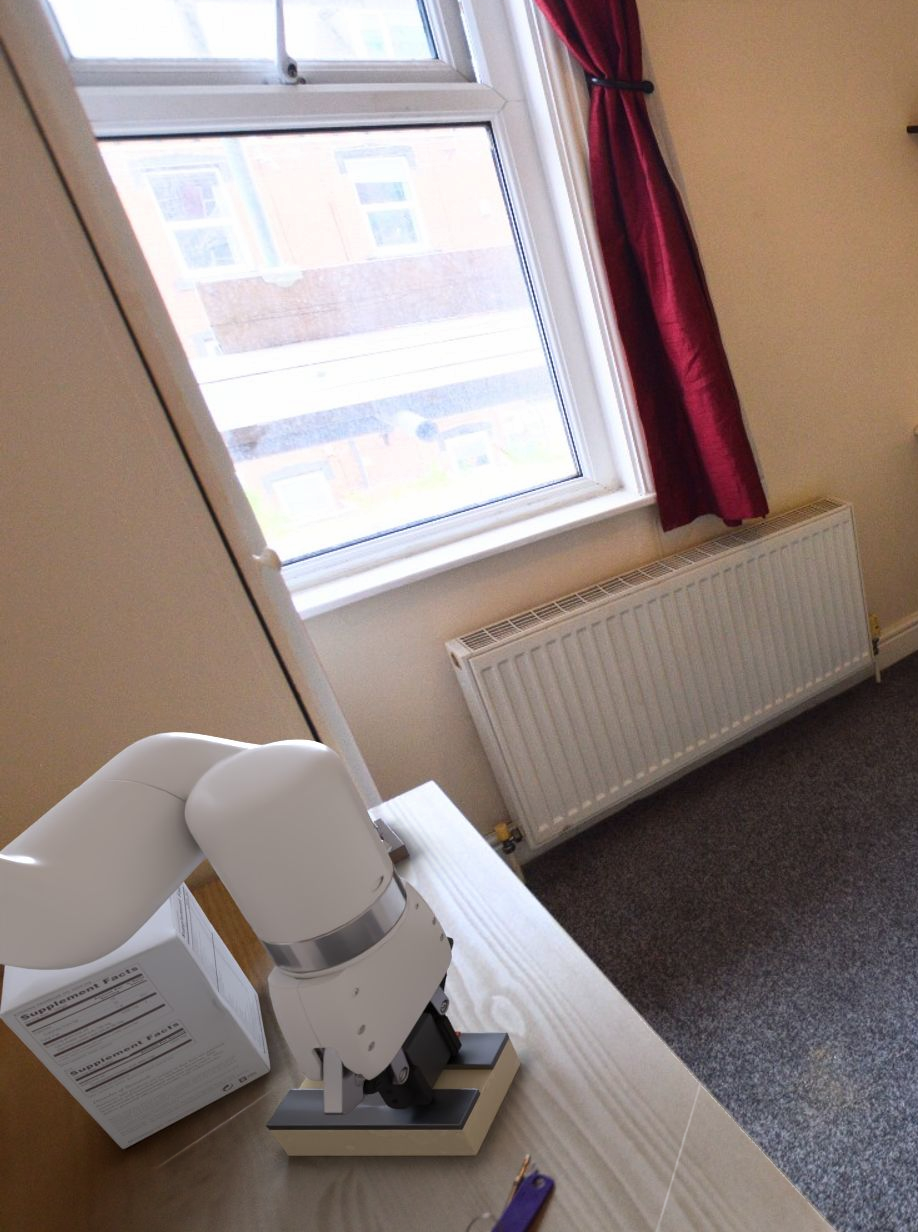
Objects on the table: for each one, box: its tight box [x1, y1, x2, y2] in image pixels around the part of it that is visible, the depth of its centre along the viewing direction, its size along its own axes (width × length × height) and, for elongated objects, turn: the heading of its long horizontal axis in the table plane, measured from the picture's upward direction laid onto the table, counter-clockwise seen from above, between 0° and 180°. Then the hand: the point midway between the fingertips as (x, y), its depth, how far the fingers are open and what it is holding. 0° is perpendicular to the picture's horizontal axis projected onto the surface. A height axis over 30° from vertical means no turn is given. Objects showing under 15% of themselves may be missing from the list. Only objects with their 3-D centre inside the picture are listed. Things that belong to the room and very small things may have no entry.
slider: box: [401, 1013, 451, 1089], centre depth 64 cm, size 2×3×6 cm
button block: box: [372, 817, 411, 866], centre depth 87 cm, size 8×6×4 cm
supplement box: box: [0, 881, 271, 1150], centre depth 66 cm, size 10×9×17 cm
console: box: [265, 1030, 521, 1157], centre depth 66 cm, size 14×7×4 cm, turn 90°
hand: (425, 1074), depth 65 cm, fingers closed on slider, 3 cm apart
